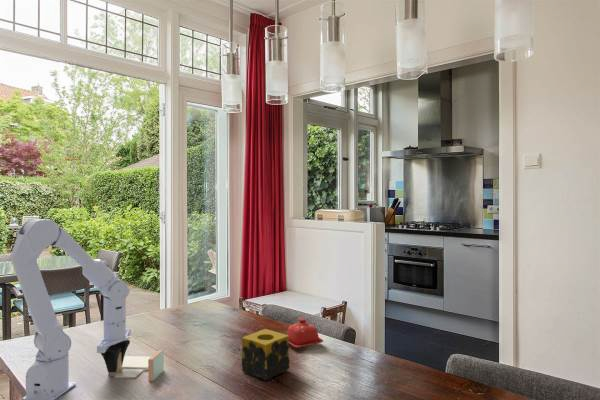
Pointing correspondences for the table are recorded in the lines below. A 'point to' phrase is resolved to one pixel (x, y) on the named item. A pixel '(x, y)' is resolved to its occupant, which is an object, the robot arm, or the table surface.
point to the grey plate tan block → (125, 371)
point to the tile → (155, 365)
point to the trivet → (135, 362)
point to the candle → (265, 354)
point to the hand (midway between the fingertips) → (114, 369)
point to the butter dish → (303, 334)
